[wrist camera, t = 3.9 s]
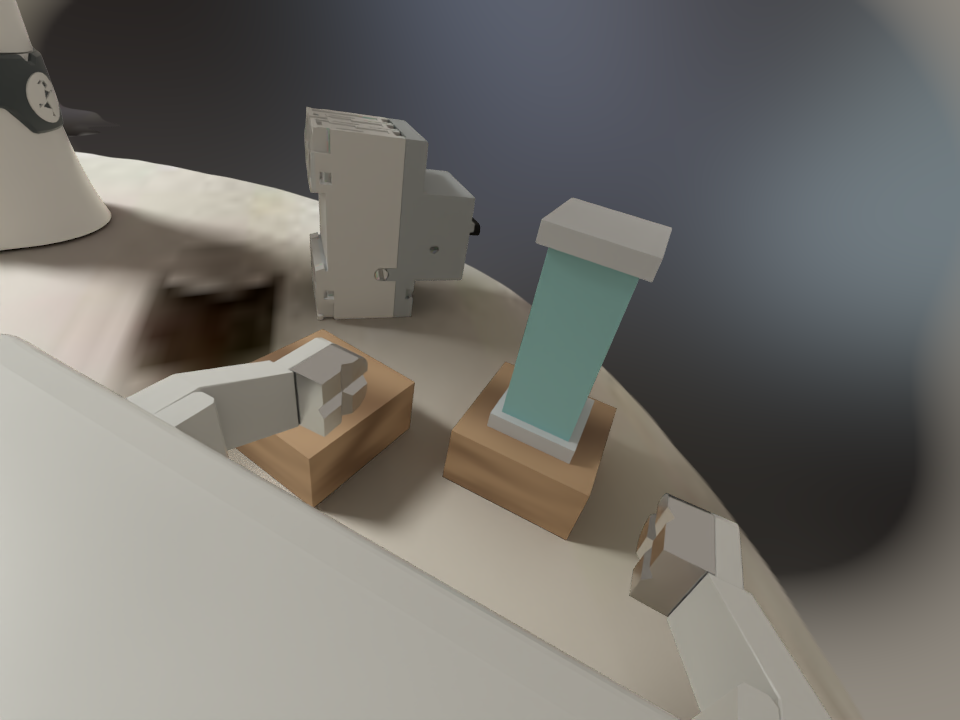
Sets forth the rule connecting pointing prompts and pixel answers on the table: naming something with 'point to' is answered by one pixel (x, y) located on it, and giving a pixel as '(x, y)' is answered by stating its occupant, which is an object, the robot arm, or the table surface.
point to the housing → (574, 320)
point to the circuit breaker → (380, 215)
